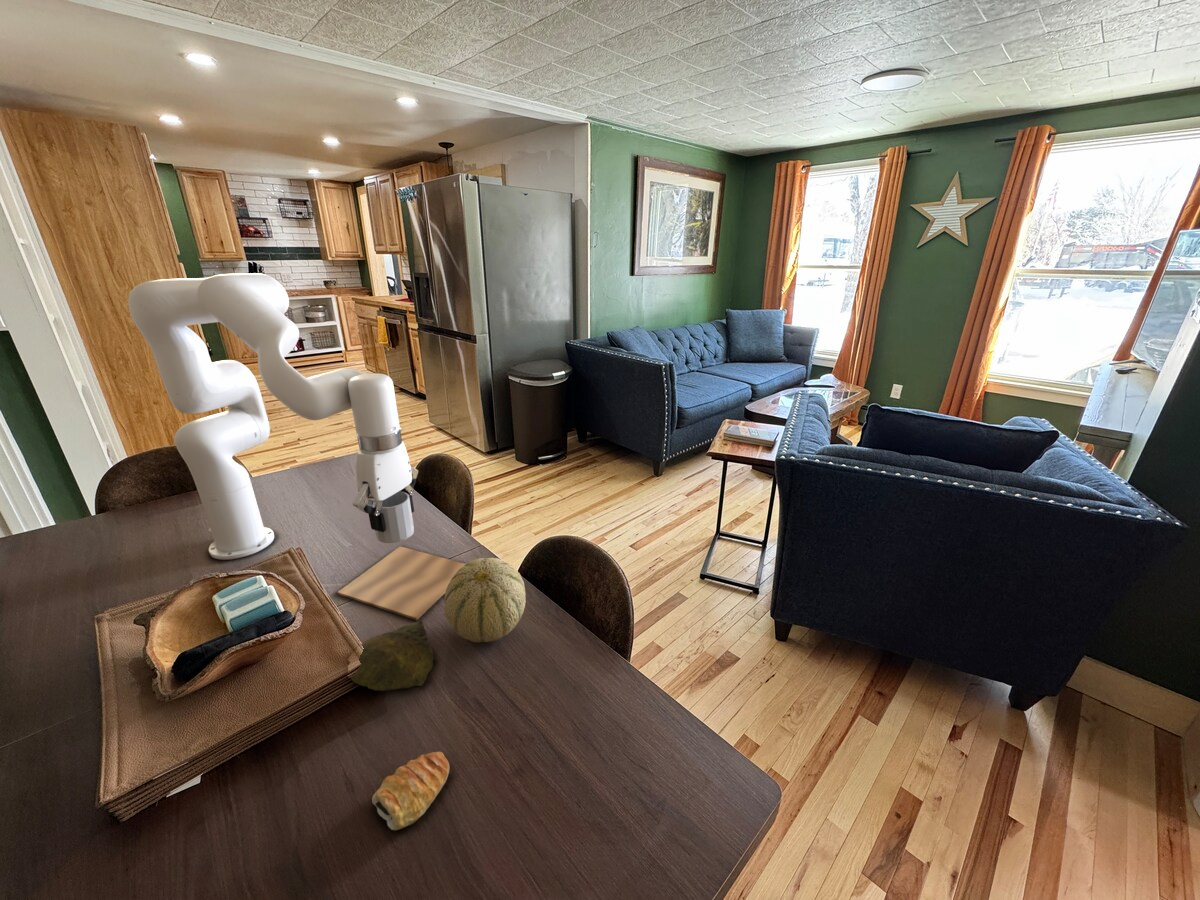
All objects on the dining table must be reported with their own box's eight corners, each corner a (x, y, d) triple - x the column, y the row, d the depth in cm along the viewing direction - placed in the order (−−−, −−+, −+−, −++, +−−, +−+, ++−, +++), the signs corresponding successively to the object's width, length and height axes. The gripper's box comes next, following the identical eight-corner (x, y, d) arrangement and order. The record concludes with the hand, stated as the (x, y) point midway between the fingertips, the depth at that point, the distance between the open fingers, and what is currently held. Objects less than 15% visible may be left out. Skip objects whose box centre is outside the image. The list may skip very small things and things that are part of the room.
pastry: (430, 749, 67) (427, 730, 66) (462, 778, 64) (460, 759, 62) (368, 807, 60) (363, 788, 59) (400, 843, 56) (396, 823, 55)
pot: (368, 538, 96) (362, 504, 93) (394, 521, 102) (389, 488, 99) (397, 546, 93) (391, 511, 90) (421, 528, 100) (416, 494, 97)
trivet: (337, 594, 97) (337, 592, 97) (400, 548, 113) (400, 546, 112) (416, 620, 91) (416, 618, 90) (471, 567, 106) (471, 565, 106)
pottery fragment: (348, 713, 72) (343, 693, 71) (347, 648, 84) (343, 630, 82) (439, 682, 78) (436, 663, 76) (426, 625, 89) (424, 608, 88)
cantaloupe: (499, 593, 98) (495, 531, 93) (543, 631, 89) (541, 565, 83) (432, 628, 89) (423, 562, 83) (473, 675, 79) (466, 603, 74)
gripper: (397, 423, 98) (408, 498, 105) (326, 452, 83) (344, 538, 90) (426, 428, 96) (436, 504, 103) (359, 459, 81) (375, 546, 88)
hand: (393, 519), depth 96 cm, fingers closed on pot, 7 cm apart
